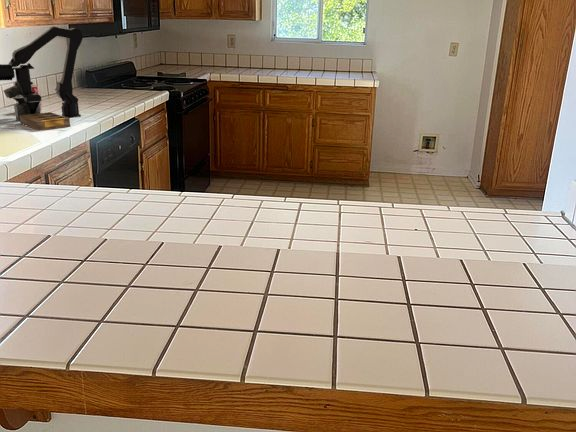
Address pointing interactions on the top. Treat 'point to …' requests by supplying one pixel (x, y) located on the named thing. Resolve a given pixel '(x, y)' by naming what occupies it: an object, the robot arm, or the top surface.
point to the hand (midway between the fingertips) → (28, 115)
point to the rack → (44, 121)
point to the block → (23, 110)
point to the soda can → (36, 92)
